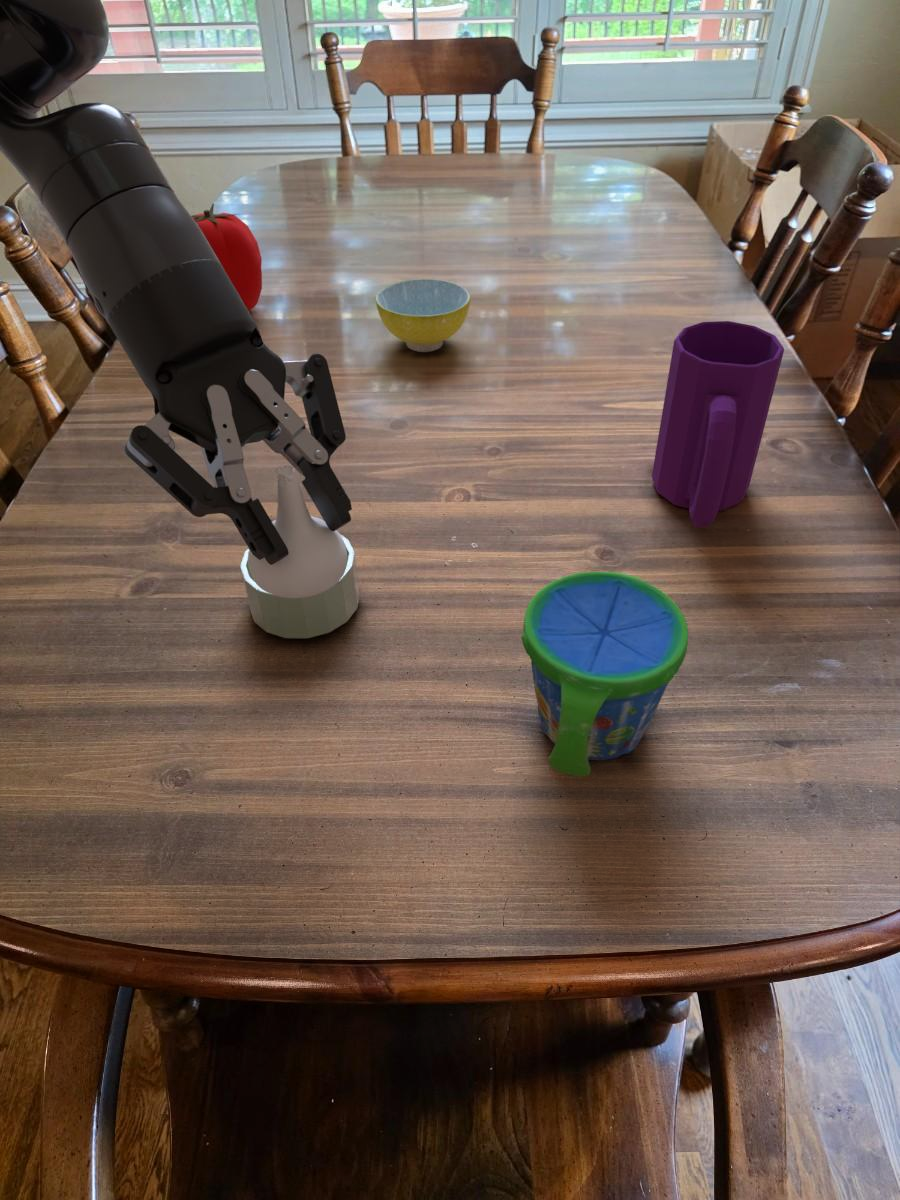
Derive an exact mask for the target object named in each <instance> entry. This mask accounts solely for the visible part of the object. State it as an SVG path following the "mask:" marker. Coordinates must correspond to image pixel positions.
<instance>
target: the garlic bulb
mask: <svg viewBox="0 0 900 1200" xmlns="http://www.w3.org/2000/svg"><path fill="white" fill-rule="evenodd" d="M275 473H276V474H277V509H276V518H275V519H274V520H273V521H272V520H271V521H272V523H273V525H274V526H275V528H276V530H277V531H278V533H279V535H280V536H281V538H282V540H283V542H284V543H285V545H286V547H287V549H288V553H289V554H288V555H287V556H286V557H285V558H283V559H282V560H280V561H278V562H276V563H274V564H273V565H270V564H269V563H268V562H267V561H266V559H265V558H263V559H261V560H259V559H258V558H256V557H255V556H254V555H253V554H252V553H251V551H250V549H249V552H248V567H249V570H250V574H251V576H252V578H253V580H254V581H255V583H256V584H257V585H258V586H259V587H260V588H261V589H262V590H264V591H266V592H268V593H270V594H272V595H275V596H279V597H284V598H304V597H310V596H313V595H317V594H319V593H322V592H324V591H326V590H328V589H330V588H331V587H333V586H334V585H335V584H336V583H337V582H338V581H339V580H340V579H341V578H342V576H343V574H344V573H345V570H346V567H347V550H346V546H345V543H344V541H343V539H342V537H341V535H342V534H341V533H340V532H339V531H338V529H337V530H335V531H331V530H330V529H329V528H328V526H327V525H326V523H325V521H324V519H323V518H319V517H318V516H317V517H316V516H313V515H311V514H310V512H309V509H308V507H307V504H306V501H305V499H304V495H303V493H302V490H301V486H300V483H299V481H298V478H297V476H296V469H295V468H294V467H293V466H292V465H291V464H290V465H289V464H287V465H283V466H277V468H275ZM339 533H340V534H341V535H340V534H339Z"/></svg>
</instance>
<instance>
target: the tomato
mask: <svg viewBox="0 0 900 1200" xmlns="http://www.w3.org/2000/svg"><path fill="white" fill-rule="evenodd" d="M214 207H215V203H212V204H211V205H210V208H209V209H205V210H203V213H198V214H193V215H192V214H191V216H192V218H193V219H194V220H195V222H196V223H197V225H198V226H199V228H200V229H201V231H202V232H203V234H204V236H205V237H206V239H207V241H208V242H209V244H210V246H211V248H212V249H213V251H214V253H215V254H216V256H217V258H218V260H219V261H220V263H221V265H222V266H223V268H224V270H225V272H226V273H227V275H228V277H229V279H230V280H231V282H232V284H233V285H234V287H235V289H236V291H237V292H238V294H239V296H240V297H241V299H242V301H243V303H244V304H245V306H246V308H247V309H248V311H249V312H251V311H252V310H253V309H254V308H255V307H256V306H257V304H258V303H259V300H260V296H261V292H262V289H263V271H262V260H263V259H262V256H261V251H260V247H259V243H258V241H257V239H256V238H255V236H254V234H253V233H252V231H251V229H250V227H249V226H248V225H247V224H246V222H244V221H243V220H241V219H240V218H239V217H238V216H237V215H239V213H235V214H234V213H228V212H221V213H216V214H215V213H214Z"/></svg>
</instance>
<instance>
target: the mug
mask: <svg viewBox="0 0 900 1200" xmlns="http://www.w3.org/2000/svg"><path fill="white" fill-rule="evenodd" d="M784 352H785V347H784V346H783V344H782V343H781V341H780V340H779V338H778V337H777V336H776V335H775V334H773V333H771V332H769V331H766V330H764V329H762V328H761V327H758V326H756V325H753V324H747V323H741V322H735V321H731V320H721V321H718V320H717V321H701V322H698V323H695V324H691V325H689V326H687V327H683V328H682V329H681V331H680V332H679V333H678V335H677V336H676V337H675V339H674V340H673V346H672V352H671V358H670V363H669V370H668V376H667V382H666V388H665V394H664V398H663V399H664V400H663V406H662V412H661V418H660V423H659V430H658V436H657V443H656V448H655V454H654V460H653V466H652V473H651V479H652V482H653V485H654V487H655V489H656V493H657V494H659V495H660V496H661V497H663V498H664V499H666V500H667V501H669V502H670V503H671V504H672V505H674V506H677V507H680V508H685V509H689V510H688V512H689V519H690V522H691V524H692V525H693V526H694V527H697V528H700V529H701V528H707V527H709V526H710V525H711V524H713V522H714V520H715V519H716V517H717V515H718V512H719V511H724V510H727V509H729V508H731V507H734V506H736V505H738V504H740V503H742V502H743V500H744V498H745V495H746V493H747V492H748V489H749V487H750V485H751V480H752V477H753V473H754V469H755V466H756V461H757V458H758V453H759V450H760V445H761V441H762V438H763V434H764V430H765V427H766V422H767V419H768V414H769V410H770V406H771V403H772V399H773V395H774V391H775V387H776V384H777V380H778V376H779V372H780V368H781V364H782V360H783V356H784Z"/></svg>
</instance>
